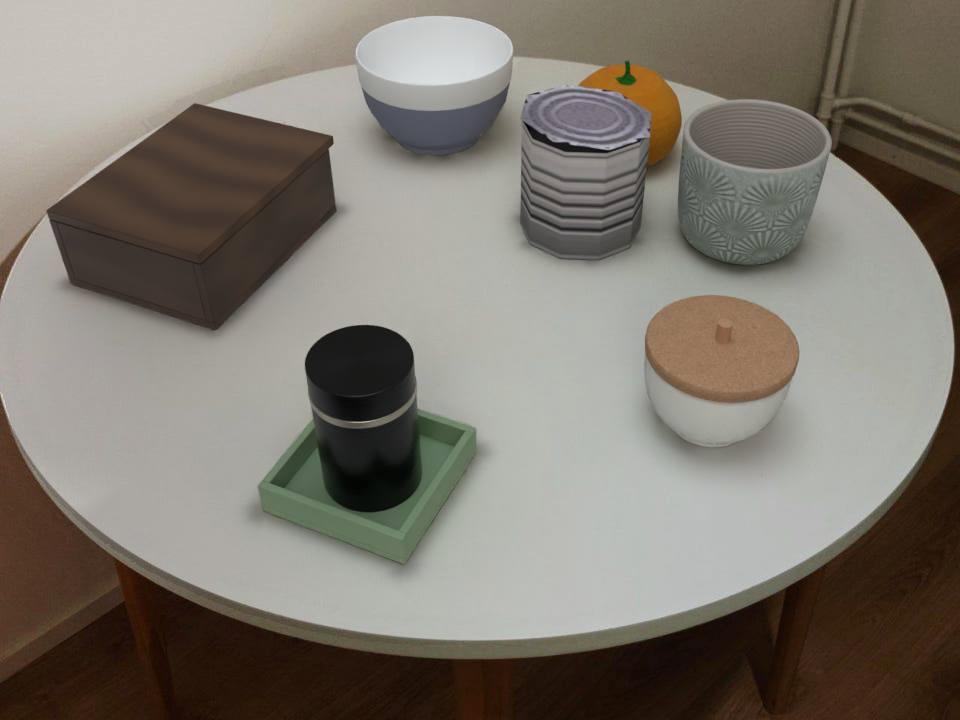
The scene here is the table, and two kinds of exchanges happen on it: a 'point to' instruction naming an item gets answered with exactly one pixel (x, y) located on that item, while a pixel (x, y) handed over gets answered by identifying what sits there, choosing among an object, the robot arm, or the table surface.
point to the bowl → (435, 80)
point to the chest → (220, 277)
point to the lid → (192, 181)
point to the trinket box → (718, 368)
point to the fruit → (644, 102)
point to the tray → (386, 533)
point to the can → (582, 171)
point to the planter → (750, 179)
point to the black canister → (365, 416)
